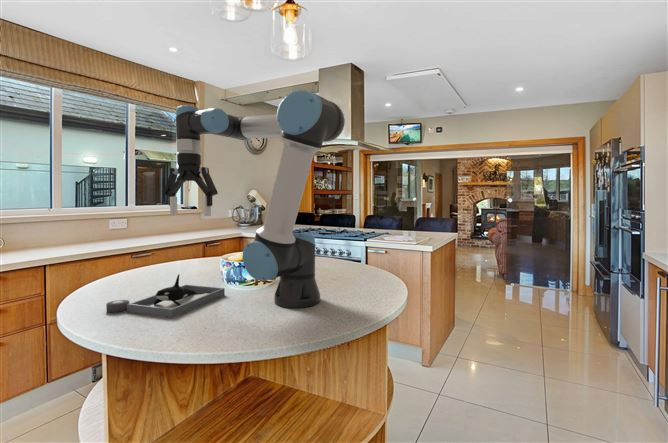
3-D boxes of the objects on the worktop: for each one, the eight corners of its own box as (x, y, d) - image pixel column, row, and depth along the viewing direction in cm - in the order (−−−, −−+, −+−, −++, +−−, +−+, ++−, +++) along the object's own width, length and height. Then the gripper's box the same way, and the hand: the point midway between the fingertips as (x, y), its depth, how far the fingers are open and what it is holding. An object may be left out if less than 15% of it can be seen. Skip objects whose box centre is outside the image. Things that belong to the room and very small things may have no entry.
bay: (224, 295, 127) (224, 288, 127) (171, 318, 103) (171, 309, 103) (186, 291, 132) (185, 284, 132) (127, 312, 108) (126, 304, 108)
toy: (169, 308, 106) (173, 273, 107) (140, 305, 108) (145, 271, 109) (208, 304, 126) (211, 275, 128) (183, 302, 128) (186, 274, 130)
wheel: (134, 308, 112) (133, 300, 112) (117, 314, 106) (116, 305, 106) (119, 306, 114) (118, 298, 114) (101, 312, 108) (101, 303, 108)
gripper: (227, 153, 123) (228, 215, 125) (166, 155, 130) (168, 214, 131) (214, 150, 116) (215, 216, 117) (150, 153, 123) (152, 215, 124)
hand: (190, 215), depth 124 cm, fingers open, 13 cm apart
